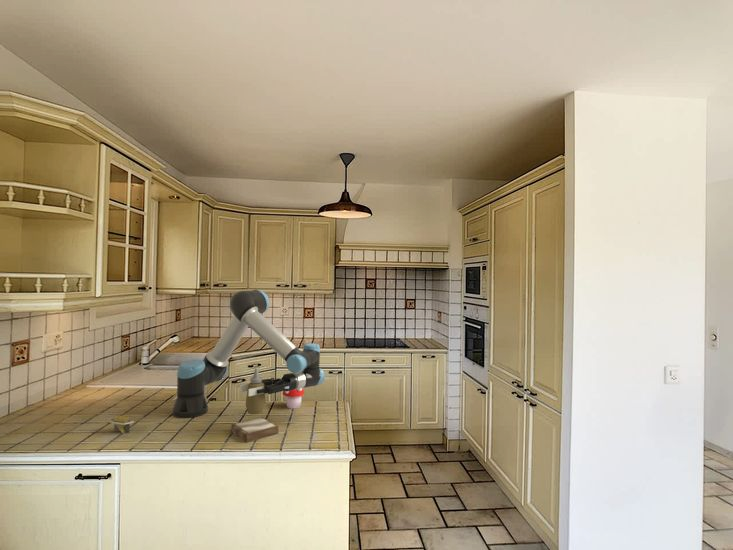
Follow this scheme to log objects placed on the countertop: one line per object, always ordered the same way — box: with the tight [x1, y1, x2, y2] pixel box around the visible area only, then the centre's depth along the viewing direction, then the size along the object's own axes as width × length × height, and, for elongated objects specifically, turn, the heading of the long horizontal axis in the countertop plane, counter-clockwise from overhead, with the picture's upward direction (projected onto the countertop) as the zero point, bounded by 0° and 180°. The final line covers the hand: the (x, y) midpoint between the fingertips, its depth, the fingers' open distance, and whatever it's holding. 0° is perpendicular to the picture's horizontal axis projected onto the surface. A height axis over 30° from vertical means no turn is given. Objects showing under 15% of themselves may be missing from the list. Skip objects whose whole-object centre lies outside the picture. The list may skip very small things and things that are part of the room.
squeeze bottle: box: [245, 368, 266, 415], centre depth 170 cm, size 8×8×18 cm
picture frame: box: [230, 416, 279, 443], centre depth 170 cm, size 14×14×3 cm
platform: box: [110, 415, 134, 434], centre depth 167 cm, size 12×18×7 cm, turn 73°
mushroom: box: [281, 388, 305, 410], centre depth 204 cm, size 11×11×12 cm
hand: (244, 390), depth 166 cm, fingers closed on squeeze bottle, 6 cm apart
